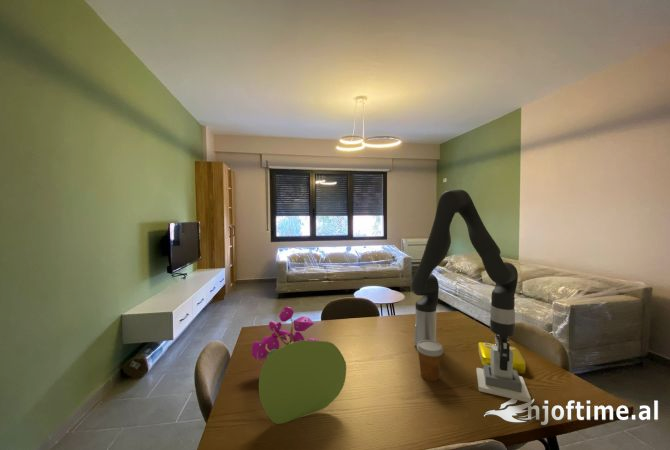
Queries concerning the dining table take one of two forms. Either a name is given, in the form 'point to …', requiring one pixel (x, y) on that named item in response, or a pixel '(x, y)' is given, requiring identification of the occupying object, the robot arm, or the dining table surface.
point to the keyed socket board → (502, 385)
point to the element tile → (485, 356)
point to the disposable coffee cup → (429, 359)
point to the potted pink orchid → (297, 371)
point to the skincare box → (496, 364)
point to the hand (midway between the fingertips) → (501, 363)
